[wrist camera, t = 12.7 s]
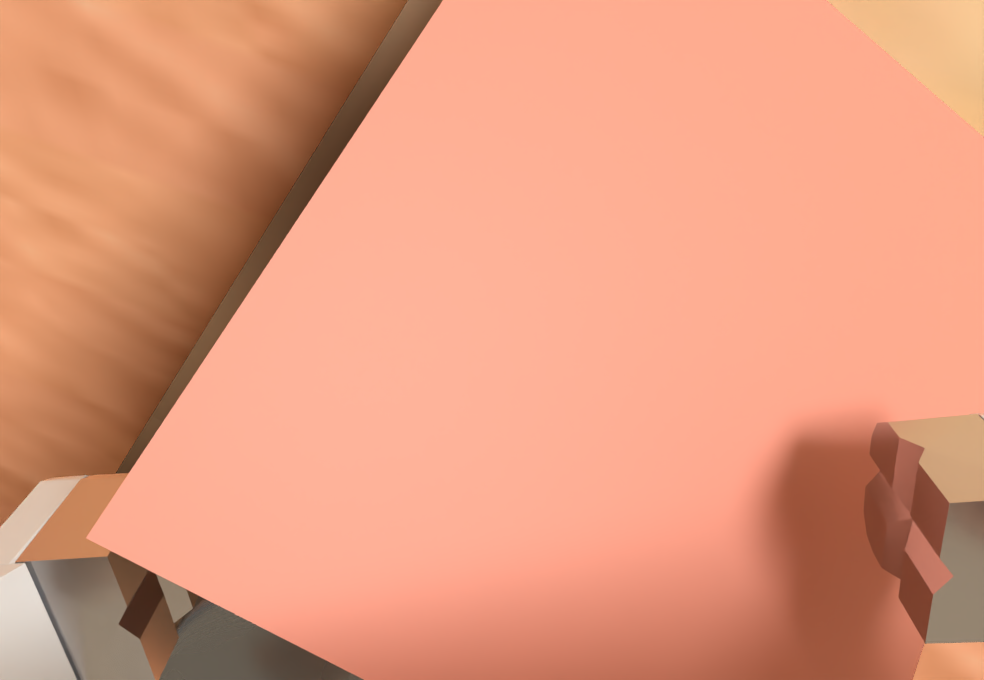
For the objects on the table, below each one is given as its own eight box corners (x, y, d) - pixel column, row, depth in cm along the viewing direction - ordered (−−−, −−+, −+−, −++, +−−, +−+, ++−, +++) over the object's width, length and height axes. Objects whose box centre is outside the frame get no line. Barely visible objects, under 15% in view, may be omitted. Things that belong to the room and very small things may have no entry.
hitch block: (440, 618, 25) (419, 803, 20) (141, 456, 23) (27, 616, 18) (885, 139, 19) (1034, 225, 13) (528, -159, 16) (533, -203, 11)
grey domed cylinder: (327, 583, 24) (245, 868, 16) (223, 428, 21) (75, 680, 14) (509, 523, 22) (505, 800, 15) (419, 353, 20) (365, 584, 13)
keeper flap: (774, 876, 10) (834, 917, 9) (96, 527, 8) (85, 538, 7) (1004, 227, 13) (1067, 210, 12) (549, -156, 11) (583, -211, 10)
